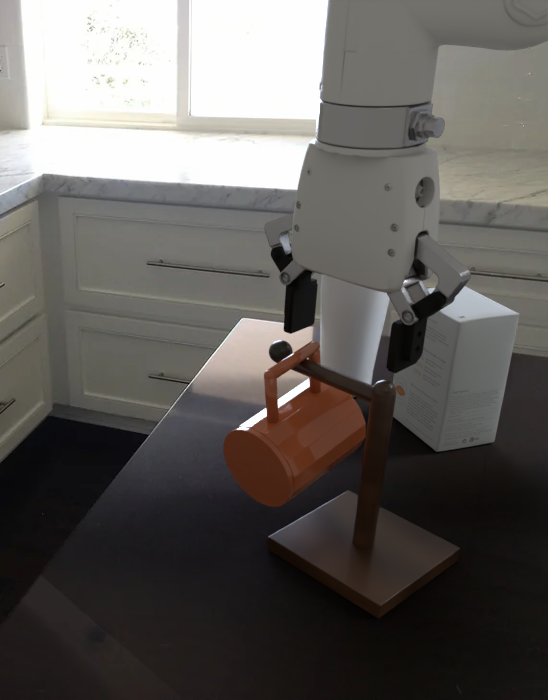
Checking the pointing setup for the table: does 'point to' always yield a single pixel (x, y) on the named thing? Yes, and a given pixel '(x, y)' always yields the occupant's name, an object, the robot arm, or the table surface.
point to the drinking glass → (350, 327)
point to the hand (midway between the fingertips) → (347, 346)
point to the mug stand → (362, 517)
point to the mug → (293, 435)
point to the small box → (458, 374)
